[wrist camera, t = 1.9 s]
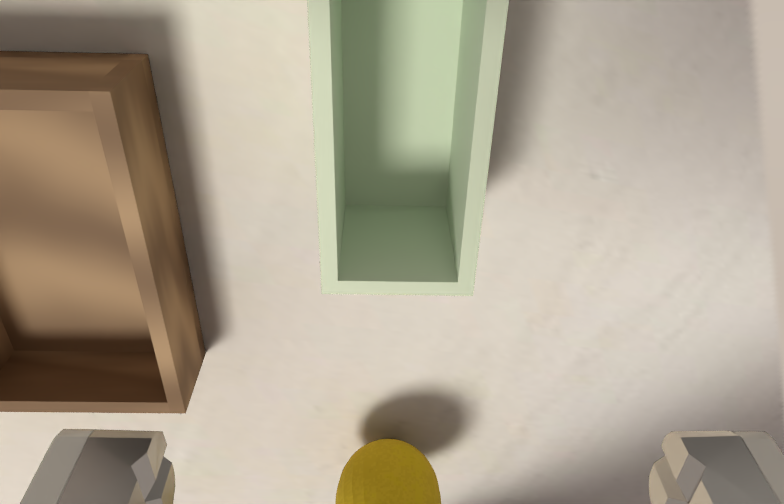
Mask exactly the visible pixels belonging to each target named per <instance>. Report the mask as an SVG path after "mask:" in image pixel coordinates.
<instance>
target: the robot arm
mask: <svg viewBox="0 0 784 504" xmlns="http://www.w3.org/2000/svg"><path fill="white" fill-rule="evenodd" d="M166 447H167V443H166V440H165V437H164V434H163V432H162V431H131V430H97V429H63V430H62V431H61V432H60V433H59V434H58V435H57V436H56V437H55V438H54V439H53V441H52V443H51V445H50V447H49V449H48V450H47V452H46V454H45V456H44V458H43V460H42V462H41V464H40V466H39V468H38V470H37V472H36V474H35V475H34V477H33V479H32V481H31V483H30V485H29V487H28V489H27V491H26V493H25V495H24V497H23V499H22V500H21V502H20V504H173V500H174V492H175V474H174V469H173V465H172V462H170V461H169V460H168V459H166V458H165V457H164V453H165V450H166ZM661 447H662V450H663V452H664V454H665V456H664V457H662V458H661V459H659V460H658V461H656V462H655V463H654V464H653V467H652V469H651V472H650V475H649V496H650V501H651V504H784V455H783V453H782V452H781V450H780V449H779V447H778V445H777V444H776V442H775V441H774V439H773V438H772V437H771V436H770V435H769V434H767V433H766V432H761V431H734V432H730V431H671V432H670V433H669V434H667V435H666V436H665V438H664V440H663V442H662V445H661Z"/></svg>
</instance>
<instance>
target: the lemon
mask: <svg viewBox="0 0 784 504" xmlns="http://www.w3.org/2000/svg"><path fill="white" fill-rule="evenodd" d="M336 504H441V497H440V491H439V486H438V481H437V478H436V475H435V472H434V470H433V468H432V466H431V465H430V463H429V461H428V460H427V458H426V457H425V456H424V455H423V454H422V453H421V452H420V451H419V450H418V449H416V448H415V447H414V446H412V445H410V444H408V443H406V442H404V441H401V440H397V439H380V440H376V441H373V442H370V443H368V444H366V445H364V446H363V447H361V448H360V449H359V450H358V451H356V452H355V453H354V454H353V456H352V457H351V458H350V459H349V461H348V462H347V464H346V465H345V467H344V469H343V471H342V474H341V477H340V481H339V484H338V488H337V493H336Z"/></svg>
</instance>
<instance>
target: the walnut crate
mask: <svg viewBox="0 0 784 504" xmlns="http://www.w3.org/2000/svg"><path fill="white" fill-rule="evenodd" d="M205 354H206V352H205V347H204V342H203V337H202V332H201V327H200V321H199V316H198V311H197V306H196V301H195V296H194V290H193V285H192V280H191V275H190V270H189V265H188V259H187V254H186V249H185V244H184V239H183V233H182V228H181V223H180V218H179V213H178V208H177V202H176V197H175V192H174V187H173V182H172V177H171V171H170V166H169V161H168V156H167V151H166V146H165V140H164V135H163V130H162V125H161V120H160V115H159V109H158V104H157V99H156V94H155V89H154V83H153V78H152V73H151V68H150V63H149V58H148V54H118V53H70V52H22V51H0V412H99V413H186V410H187V407H188V404H189V401H190V398H191V395H192V392H193V389H194V386H195V383H196V380H197V377H198V375H199V372H200V369H201V366H202V363H203V360H204V357H205Z"/></svg>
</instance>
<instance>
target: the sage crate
mask: <svg viewBox="0 0 784 504" xmlns="http://www.w3.org/2000/svg"><path fill="white" fill-rule="evenodd" d="M508 4H509V0H307V7H308V27H309V47H310V68H311V88H312V108H313V129H314V149H315V169H316V190H317V210H318V230H319V250H320V271H321V291H322V294H368V295H446V296H473V291H474V283H475V275H476V267H477V258H478V250H479V242H480V234H481V226H482V217H483V209H484V201H485V193H486V185H487V176H488V168H489V160H490V152H491V144H492V136H493V127H494V119H495V111H496V103H497V95H498V86H499V78H500V70H501V62H502V54H503V45H504V37H505V29H506V21H507V13H508Z"/></svg>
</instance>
